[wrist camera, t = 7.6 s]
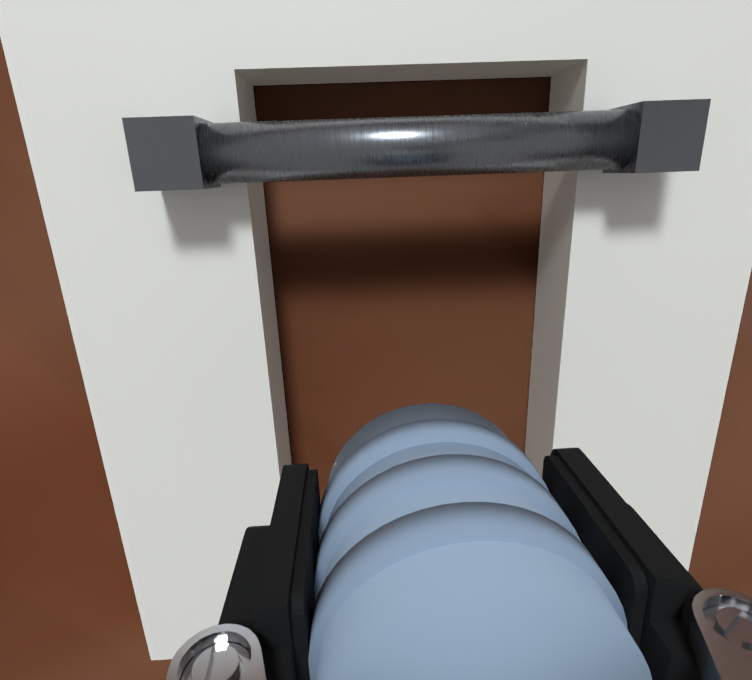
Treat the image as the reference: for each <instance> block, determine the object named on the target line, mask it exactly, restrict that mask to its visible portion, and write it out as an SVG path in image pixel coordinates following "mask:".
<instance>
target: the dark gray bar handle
mask: <svg viewBox="0 0 752 680" xmlns="http://www.w3.org/2000/svg"><path fill="white" fill-rule="evenodd" d="M710 102H711V99H688V100H657V101H642V102H637V103H633V104H629V105H625V106H621V107H617V108H613V109H609V110H591V111H560V112H530V113H499V114H468V115H438V116H407V117H377V118H346V119H315V120H285V121H254V122H224V123H213V122H210V121H208V120H205V119H202V118H199V117H196V116H194V115H190V116H159V117H128V118H122V122H123V128H124V133H125V139H126V144H127V150H128V155H129V161H130V166H131V172H132V177H133V183H134V188H135V192H140V191H167V190H194V189H209V188H218V187H221V184H226V183H253V182H280V181H308V180H335V179H362V178H390V177H417V176H444V175H472V174H499V173H526V172H554V171H581V170H603V173H655V172H682V171H699V169H700V163H701V157H702V151H703V145H704V138H705V132H706V126H707V120H708V114H709V108H710Z"/></svg>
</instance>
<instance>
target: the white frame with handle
mask: <svg viewBox="0 0 752 680" xmlns="http://www.w3.org/2000/svg"><path fill="white" fill-rule="evenodd" d="M0 37H1V41H2V45H3V50H4V54H5V58H6V62H7V66H8V70H9V74H10V78H11V83H12V87H13V91H14V95H15V99H16V103H17V107H18V112H19V116H20V120H21V124H22V128H23V132H24V136H25V141H26V145H27V149H28V153H29V157H30V161H31V165H32V169H33V174H34V178H35V182H36V186H37V190H38V194H39V198H40V203H41V207H42V211H43V215H44V219H45V223H46V227H47V232H48V236H49V240H50V244H51V248H52V252H53V256H54V260H55V265H56V269H57V273H58V277H59V281H60V285H61V289H62V294H63V298H64V302H65V306H66V310H67V314H68V318H69V322H70V327H71V331H72V335H73V339H74V343H75V347H76V351H77V356H78V360H79V364H80V368H81V372H82V376H83V380H84V385H85V389H86V393H87V397H88V401H89V405H90V409H91V413H92V418H93V422H94V426H95V430H96V434H97V438H98V442H99V447H100V451H101V455H102V459H103V463H104V467H105V471H106V476H107V480H108V484H109V488H110V492H111V496H112V500H113V504H114V509H115V513H116V517H117V521H118V525H119V529H120V533H121V538H122V542H123V546H124V550H125V554H126V558H127V562H128V567H129V571H130V575H131V579H132V583H133V587H134V591H135V595H136V600H137V604H138V608H139V612H140V616H141V620H142V624H143V629H144V633H145V637H146V641H147V645H148V649H149V653H150V658H151V660H163V659H173V657H174V655H175V653H176V652H177V651H178V650H179V649H180V647H181V646H182V645H183V644H184V643H185V642H186V641H187V640H188V639H190V638H191V637H193V636H194V635H195V634H197V633H198V632H200V631H202V630H205V629H207V628H209V627H212V626H215V625H218V623H219V620H220V616H221V613H222V609H223V606H224V603H225V599H226V596H227V592H228V589H229V585H230V582H231V578H232V575H233V571H234V568H235V564H236V561H237V557H238V554H239V551H240V547H241V544H242V540H243V537H244V533H245V531H246V528H247V527H250V526H265V525H270V523H271V518H272V514H273V509H274V505H275V500H276V496H277V491H278V487H279V482H280V478H281V473H282V469H283V466H284V465H292V463H291V453H290V443H289V433H288V423H287V414H286V404H285V394H284V384H283V374H282V365H281V355H280V345H279V335H278V325H277V316H276V306H275V296H274V286H273V277H272V267H271V257H270V247H269V237H268V228H267V218H266V208H265V198H264V188H263V182H253V183H226V184H221V187H218V188H209V189H194V190H167V191H140V192H135V188H134V183H133V177H132V172H131V166H130V161H129V155H128V150H127V144H126V139H125V133H124V128H123V122H122V118H128V117H159V116H190V115H194V116H196V117H199V118H202V119H205V120H208V121H210V122H213V123H224V122H254V121H257V120H256V110H255V100H254V91H253V86H261V85H293V84H326V83H359V82H392V81H425V80H458V79H491V78H524V77H551V85H550V99H549V112H560V111H591V110H609V109H613V108H617V107H621V106H625V105H629V104H633V103H637V102H642V101H657V100H688V99H711V102H710V108H709V114H708V120H707V126H706V132H705V138H704V145H703V151H702V157H701V163H700V169H699V171H682V172H655V173H603V170H581V171H554V172H544V185H543V199H542V213H541V227H540V241H539V256H538V270H537V284H536V298H535V312H534V327H533V341H532V355H531V369H530V383H529V398H528V412H527V426H526V440H525V455H526V456H527V457H528V459H529V460H530V461H531V463H532V464H533V466H534V467H535V469H536V470H537V472H538V473H539V475H540V476H541V478H542V472H543V461H544V457H545V456H548V455H551V452H552V450H553V449H560V448H579V449H581V450H582V452H583V453H584V454H585V455H586V456H587V457H588V459H589V460H590V461H591V462H592V463H593V464H594V466H595V467H596V468H597V469H598V470H599V471H600V473H601V474H602V475H603V476H604V477H605V478H606V480H607V481H608V482H609V483H610V484H611V485H612V487H613V488H614V489H615V490H616V491H617V492H618V494H619V495H620V496H621V497H622V498H623V499H624V501H625V502H626V503H627V504H629V505H630V506H631V507H632V508H633V509H634V510H635V511H636V512H637V513H638V514H639V516H640V517H641V518H642V519H643V520H644V521H645V522H646V524H647V525H648V526H649V527H650V528H651V529H652V531H653V532H654V533H655V534H656V535H657V536H658V538H659V539H660V540H661V541H662V542H663V543H664V545H665V546H666V547H667V548H668V549H669V550H670V551H671V553H672V554H673V555H674V556H675V557H676V558H677V560H678V561H679V562H680V563H681V564H682V565H683V567H684V568H685V569H686V570H687V571H688V569H689V564H690V560H691V555H692V550H693V545H694V540H695V536H696V531H697V526H698V521H699V517H700V512H701V507H702V502H703V497H704V493H705V488H706V483H707V478H708V473H709V469H710V464H711V459H712V454H713V450H714V445H715V440H716V435H717V430H718V426H719V421H720V416H721V411H722V407H723V402H724V397H725V392H726V387H727V383H728V378H729V373H730V368H731V363H732V359H733V354H734V349H735V344H736V340H737V335H738V330H739V325H740V320H741V316H742V311H743V306H744V301H745V297H746V292H747V287H748V282H749V277H750V273H751V268H752V0H0Z"/></svg>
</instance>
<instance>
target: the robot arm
mask: <svg viewBox="0 0 752 680" xmlns="http://www.w3.org/2000/svg"><path fill="white" fill-rule="evenodd" d="M542 479H543V481H544V483H545V484H546V486H547V488H548V490H549V492H550V493H551V494H552V496H553V497H554V499H555V500H556V501H557V503H558V504H559V506H560V507H561V509H562V510H563V512H564V513H565V515H566V516H567V518H568V519H569V521H570V523H571V524H572V526H573V527H574V529H575V530H576V532H577V534H578V536H579V538H580V540H581V542H582V544H583V545H584V546H585V547H586V548H587V550H588V551H589V552H590V554H591V555H592V557H593V558H594V559H595V561H596V563H597V564H598V566H599V567H600V569H601V570H602V572H603V573H604V575H605V576H606V578H607V579H608V581H609V583H610V584H611V586H612V587H613V589H614V590H615V592H616V594H617V596H618V598H619V600H620V602H621V604H622V606H623V609H624V613H625V617H626V620H627V627H628V632H629V633H630V635H631V636H632V638H633V640H634V641H635V643H636V644H637V646H638V648H639V649H640V651H641V652H642V654H643V656H644V658H645V660H646V663H647V665H648V667H649V669H650V673H651V677H652V680H752V597H750V596H748V595H746V594H743V593H741V592H737V591H733V590H728V589H718V588H711V589H707V590H703V589H702V587H701V586H700V585H699V584H698V583H697V582H696V580H695V579H694V578H693V577H692V576H691V575H690V574H689V572H688V571H687V570H686V569H685V568H684V567H683V565H682V564H681V563H680V562H679V561H678V560H677V558H676V557H675V556H674V555H673V554H672V553H671V551H670V550H669V549H668V548H667V547H666V546H665V545H664V543H663V542H662V541H661V540H660V539H659V538H658V536H657V535H656V534H655V533H654V532H653V531H652V529H651V528H650V527H649V526H648V525H647V524H646V522H645V521H644V520H643V519H642V518H641V517H640V516H639V514H638V513H637V512H636V511H635V510H634V509H633V508H632V507H631V506H630V505H629V504H627V503H626V502H625V501H624V499H623V498H622V497H621V496H620V495H619V494H618V492H617V491H616V490H615V489H614V488H613V487H612V485H611V484H610V483H609V482H608V481H607V480H606V478H605V477H604V476H603V475H602V474H601V473H600V471H599V470H598V469H597V468H596V467H595V466H594V464H593V463H592V462H591V461H590V460H589V459H588V457H587V456H586V455H585V454H584V453H583V452H582V450H581V449H579V448H560V449H553V450H552V452H551V455H548V456H545V457H544V461H543V472H542ZM320 507H321V506H320V494H319V482H318V472H317V469H316V470H309V467H308V464H293V465H284V466H283V469H282V473H281V478H280V482H279V487H278V491H277V496H276V500H275V505H274V509H273V514H272V518H271V523H270V525H265V526H250V527H247V528H246V531H245V533H244V537H243V540H242V544H241V547H240V551H239V554H238V557H237V561H236V564H235V568H234V571H233V575H232V578H231V582H230V585H229V589H228V592H227V596H226V599H225V603H224V606H223V609H222V613H221V616H220V620H219V623H218V625H215V626H212V627H209V628H207V629H205V630H202V631H200V632H198V633H197V634H195V635H194V636H193V637H191V638H190V639H188V640H187V641H186V642H185V643H184V644H183V645H182V646H181V647H180V649H179V650H178V651H177V652H176V653H175V655H174V657H173V659H172V661H171V663H170V664H169V668H168V673H167V678H166V680H310V672H309V663H308V656H309V643H310V631H311V619H312V613H313V608H314V605H315V594H314V580H315V567H316V557H317V550H318V546H319V538H318V529H319V516H320Z"/></svg>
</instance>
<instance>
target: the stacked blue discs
mask: <svg viewBox="0 0 752 680" xmlns="http://www.w3.org/2000/svg"><path fill="white" fill-rule="evenodd" d="M318 538H319V546H318V550H317V557H316V567H315V580H314V594H315V605H314V608H313V613H312V619H311V631H310V643H309V656H308V663H309V672H310V680H652V677H651V673H650V669H649V667H648V665H647V663H646V660H645V658H644V656H643V654H642V652H641V651H640V649H639V648H638V646H637V644H636V643H635V641H634V640H633V638H632V636H631V635H630V633H629V632H628V627H627V620H626V617H625V613H624V609H623V606H622V604H621V602H620V600H619V598H618V596H617V594H616V592H615V590H614V589H613V587H612V586H611V584H610V583H609V581H608V579H607V578H606V576H605V575H604V573H603V572H602V570H601V569H600V567H599V566H598V564H597V563H596V561H595V559H594V558H593V557H592V555H591V554H590V552H589V551H588V550H587V548H586V547H585V546H584V545H583V544H582V542H581V540H580V538H579V536H578V534H577V532H576V530H575V529H574V527H573V526H572V524H571V523H570V521H569V519H568V518H567V516H566V515H565V513H564V512H563V510H562V509H561V507H560V506H559V504H558V503H557V501H556V500H555V499H554V497H553V496H552V494H551V493H550V492H549V490H548V488H547V486H546V484H545V483H544V481H543V479H542V478H541V476H540V475H539V473H538V472H537V470H536V469H535V467H534V466H533V464H532V463H531V461H530V460H529V459H528V457H527V456H526V455H525V453H524V452H523V451H522V450H521V449H520V448H519V447H518V446H517V445H515V444H514V443H513V442H512V441H510V440H509V439H508V438H507V436H506V435H505V434H504V433H503V432H502V431H501V430H500V429H499V428H498V427H497V426H496V425H494V424H493V423H492V422H491V421H489V420H488V419H486V418H484V417H483V416H481V415H479V414H477V413H475V412H473V411H470V410H468V409H465V408H461V407H457V406H453V405H446V404H418V405H411V406H406V407H402V408H398V409H396V410H393V411H390V412H387V413H385V414H383V415H381V416H379V417H377V418H375V419H373V420H372V421H371V422H369V423H368V424H366V425H365V426H363V427H362V428H361V429H360V430H359V431H357V432H356V433H355V434H354V435H353V436H352V437H351V438H350V439H349V441H348V442H347V443H346V444H345V445H344V447H343V448H342V450H341V451H340V453H339V454H338V456H337V458H336V460H335V462H334V464H333V467H332V470H331V473H330V476H329V483H328V485H327V488H326V490H325V492H324V496H323V499H322V502H321V507H320V516H319V529H318Z"/></svg>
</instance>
